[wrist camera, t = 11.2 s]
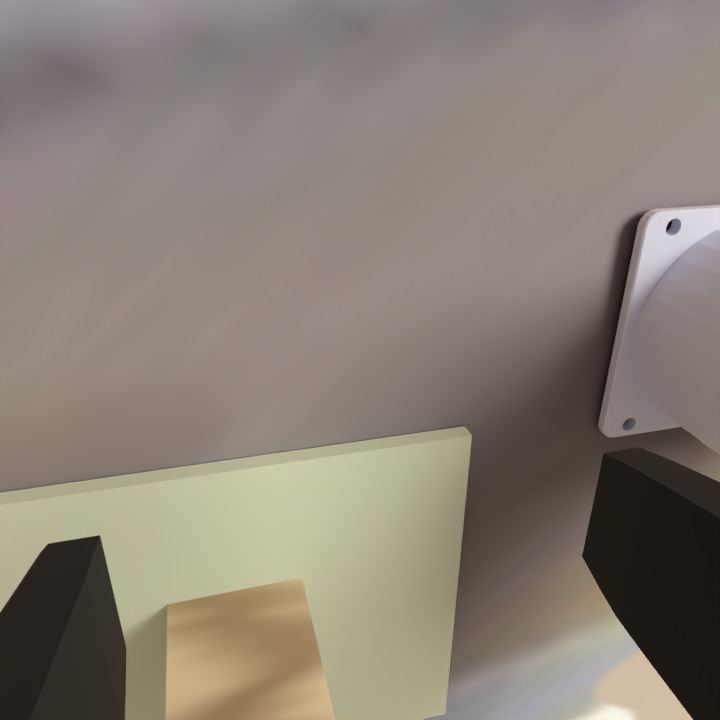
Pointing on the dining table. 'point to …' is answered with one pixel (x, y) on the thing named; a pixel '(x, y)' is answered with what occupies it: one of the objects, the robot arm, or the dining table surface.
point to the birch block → (245, 657)
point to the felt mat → (280, 557)
